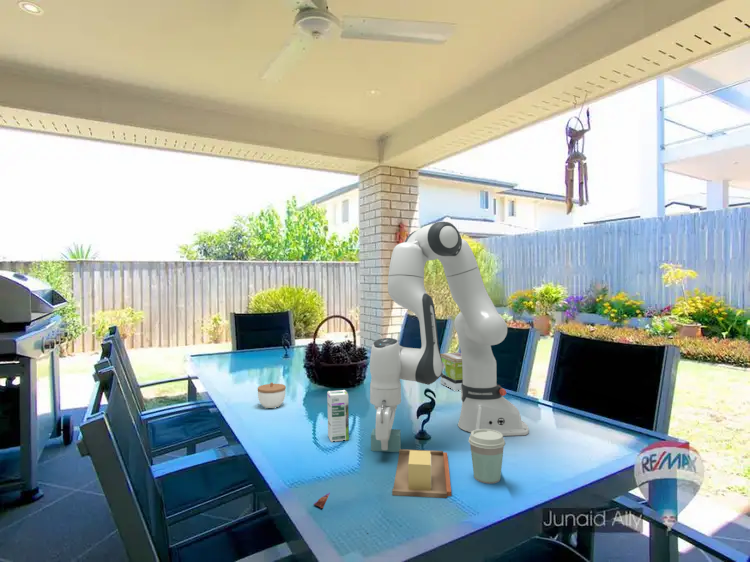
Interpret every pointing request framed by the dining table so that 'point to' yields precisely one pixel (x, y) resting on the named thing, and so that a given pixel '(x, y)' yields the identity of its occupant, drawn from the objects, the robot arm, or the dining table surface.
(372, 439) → the teal box
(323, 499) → the snack package
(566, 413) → the dining table surface
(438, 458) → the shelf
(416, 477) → the ochre box
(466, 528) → the dining table surface
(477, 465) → the coffee cup
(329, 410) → the syrup box
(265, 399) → the lidded jar
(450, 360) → the tea box
